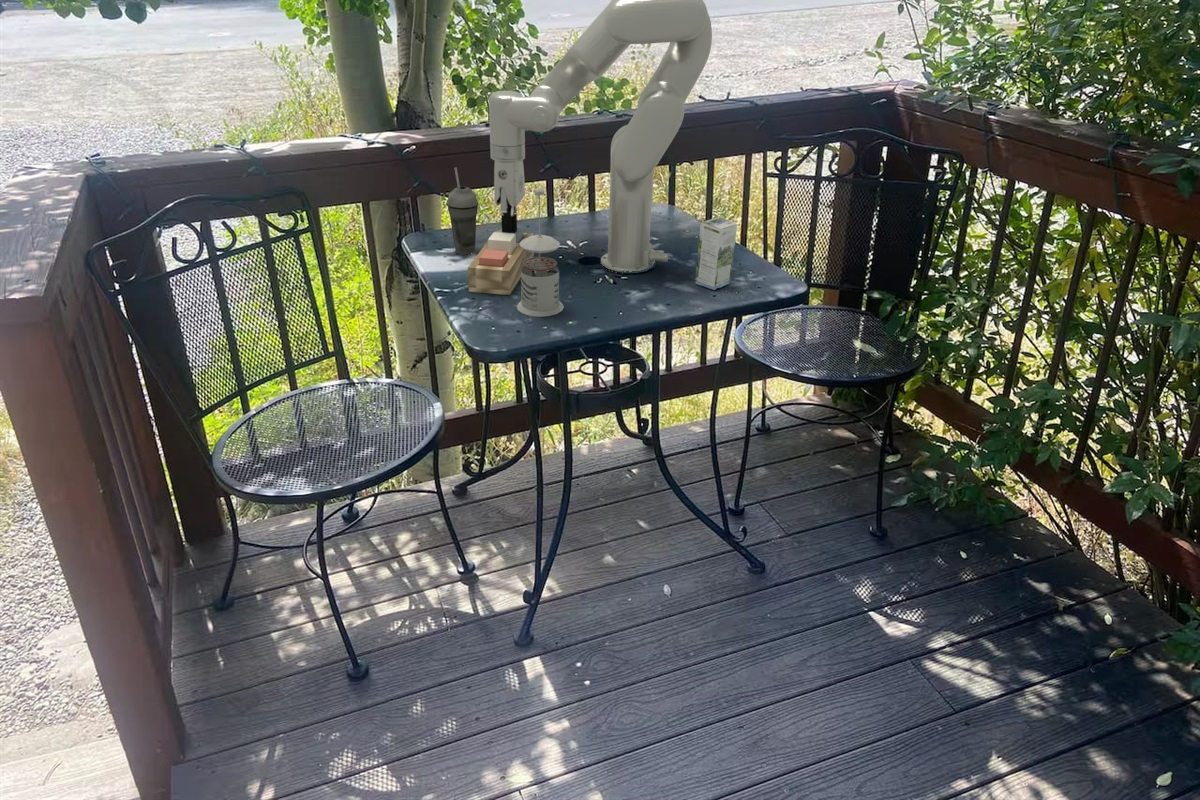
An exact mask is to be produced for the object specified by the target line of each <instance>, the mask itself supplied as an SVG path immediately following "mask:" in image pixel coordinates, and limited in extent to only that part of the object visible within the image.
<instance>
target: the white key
mask: <svg viewBox="0 0 1200 800" xmlns="http://www.w3.org/2000/svg"><path fill="white" fill-rule="evenodd" d="M487 242H488V250H496V251H508V255H512V254H513V252H514V251H515V249H516V234H513V233H500V232H495V231H493V233H492V234H491V235H490V236H489V238H488V239H487Z"/></svg>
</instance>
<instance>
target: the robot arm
mask: <svg viewBox="0 0 1200 800" xmlns="http://www.w3.org/2000/svg"><path fill="white" fill-rule="evenodd" d="M712 41H713V29H712V21H711V18H710V14H709V12H708V9H707V6H706V3H705V1H704V0H611V1H610V2H609V3H608V4H607V6H606V7H604V9H603V10H602V11H601V12H600V14H599V15H598V16H596V18H595V19H594V20H593V22H591V23H590V25H589V26H588V27H587V28H586V29H585V31H584V32H583V33H582V34H581V35H580V36H579V37H578V38H577V40H576V41H574V43H573V44H572V45H571V46H570V47H569V49H568V50H567V51H566V52H565V54H564V55H563V57H561V59H560V60H559V61H558V62H557V63H556V65H554V66H553V68H552V69H551V70H550V71H549V72H548V74H546V76H545V77H544V78H543V79H542V80H541V81H540V82H539V84H538V85H537V86H536V87H535V88H534V89H533V90H532V92H531V93H530V95H529V96H524V95H523V94H522V93H521V92H519V91H515V90H498V91H494V92H492V93H491V94H490V95H489V97H488V98H489V99H488V112H489V113H488V115H489V142H490V143H489V145H490V146H489V147H490V151H489V152H490V159H491V160H493V161H494V168H493V172H494V173H493V175H494V176H493V178H494V180H493V188H494V191H493V192H494V203H495V204H496V206H500V210H499V211H500V214H501V218H500V219H501V228H502V232H507V233H515V232H516V231H517V228H518V214H517V211H518V208H517V207H518V205H519V204H520V202H522V200H523V199H524V197H525V195H526V186H525V185H526V184H525V170H524V169H525V168H524V160H525V159H526V137H525V136H526V135H525V134H526V133H525V131H526V130H527V131H532V132H535V133H536V132H538V133H546V132H549V131H551V130H552V129H554V128H555V127H556V125H557V124H558V122H559V118H560V115H561V113H562V111H563V110H564V109H565V108H566V107H567V106H568V105H569V104H570V103H571V102H572V101H573V99H574V98H575V97H576V96H577V95H578V94H579V93H580V92H581V91H583V89H584V88H585V87H586V86H588V85H589V84H590V83H592V82H594V81H596V80H598V79H600V78H601V77H602V76H603V75H604V74H605V73H606V72H607V71H608V70H609V68H610V67H611V66H612V65H613V64H614V63H615V62H616V60H618V58H619V57H620V56H621V55H622V54H623V53H624V52H625V51H626V50H627V49H628V48H629V46H630V45H645V44H646V45H649V44H660V43H661V44H663V43H669V45H668V47H667V49H666V51H665V53H664V55H663V57H662V59H661V60H660V63H659V64H658V66H657V68H656V69H655V71H654V72H653V74H652V76H651V78H650V79H649V81H648V83H647V84H645V85H646V86H645V87H644V89H643V90H642V91H641V93H640V94H639V98H638V100H637V108H636V110H635V111H634V113H633V116H632V117H631V119H630V120H629V122H628V124H625V125H623V126H621V127H620V128H619V129H618V130H617V131H616V132H615V134H614V135H613V137H612V140H611V143H610V175H609V176H610V178H609V204H608V205H609V207H608V232H607V233H608V237H607V238H608V239H607V243H608V244H607V253H605V254H604V255H602V256H601V257H600V264H602V265H603V266H605V267H606V268H608V269H611V270H615V271H624V272H626V271H629V272H632V271H641V270H644V269H647V268H649V267H651V266H653V264H654V263H655V264H656V262H662V263H663V262H664V263H667V262H668V261H669V259H668V258H669V253H665V251H664V250H661V249H659V250H656V249H654V248H653V247H652V246H653V245H652V243H650V240H651V238H650V237H651V221H652V219H651V218H652V201H653V191H654V190H653V189H654V187H653V186H654V170H655V169H656V167H657V165H658V164H659V163H660V161H661V159H662V158H663V156H664V154H665V153H666V151H667V150H668V148H669V146H670V145H671V143H672V142H673V140H674V139H675V137H676V135H677V133H678V132H679V129H680V128H681V126H682V123H683V120H684V116H685V106H684V104H685V103H686V100H687V99H688V97H689V96H690V94H691V92H692V90H693V89H694V86H695V85H696V83H697V81H698V79H699V77H701V74H702V72H703V71H704V68H705V66H706V64H707V62H708V60H709V58H710V57H709V56H710V53H711V49H712V44H713V43H712ZM602 265H601V266H602ZM603 266H602V267H603Z"/></svg>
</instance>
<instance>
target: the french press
mask: <svg viewBox="0 0 1200 800" xmlns="http://www.w3.org/2000/svg"><path fill="white" fill-rule="evenodd" d="M534 195H535V196H538V234H534V235H533V236H530V237H528V238H526V239H524V240H522V241H521V242H520V243H519V244H520V246H521V247H522V248H523V249H524V250H525V260H524V261H523V262H522V264H523V267H522V269H521V278H520V282H521V283H520V287H521V289H520V290H521V291H520V292H521V293H520V294H521V296H520V297H521V299H520V301H519V302H518V304H517V305H516V309H517V311H519V312H520V313H521V314H524V315H527V316H530V317H538V318H539V317H550V316H554V315H558V314H559V313H561V312H562V311H564V310H563V309H564V308H565V306H564V304H563V303H562V301H561V300H560V283H559V282H560V269H559V267H558V266H557V265H558V264H559V263H558V261H557V260H555V259H554V258H552V257H549V256H542V255H541V254H545V253H551V252H554V251H557V250H558V249H559V248H560V246H561V243H560V241H558V240H556V239H555V238H554V237H552V236H550V235H545V234H541V196H544V195H545V191H544V189H543V188H540V187H538V188H536V189H535V190H534ZM526 251H529V252H532V257H531V258H527V259H526ZM535 253H537V254H538V256H535ZM533 255H534V256H533ZM533 271H534V275H535V276H533ZM549 271H555V272H556V273H555V272H549ZM533 288H535V289H533Z"/></svg>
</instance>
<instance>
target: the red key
mask: <svg viewBox="0 0 1200 800" xmlns="http://www.w3.org/2000/svg"><path fill="white" fill-rule="evenodd" d="M507 261H508V251H496V250H485V251H484V252H483V253H482V255H481V256H480V257H479V265H481V266H493V267H504V266H505V264H506V263H507Z"/></svg>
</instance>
